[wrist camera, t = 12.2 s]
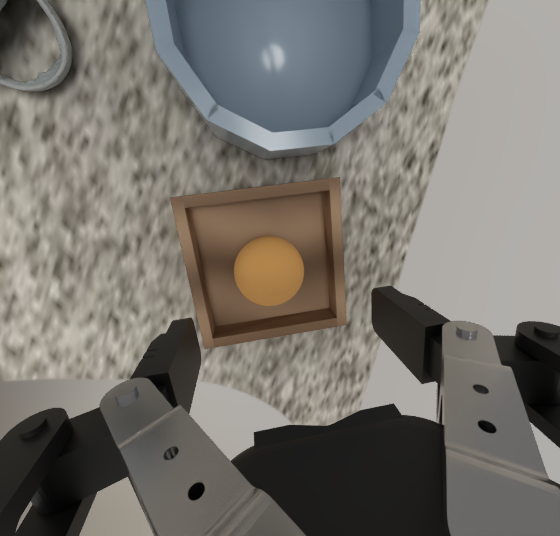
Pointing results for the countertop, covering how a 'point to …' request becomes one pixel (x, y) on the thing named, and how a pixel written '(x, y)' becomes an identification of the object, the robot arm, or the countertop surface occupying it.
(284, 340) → the countertop surface
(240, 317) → the tray
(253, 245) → the ball
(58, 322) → the countertop surface
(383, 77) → the faceted grey bowl
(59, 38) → the ceramic mug
